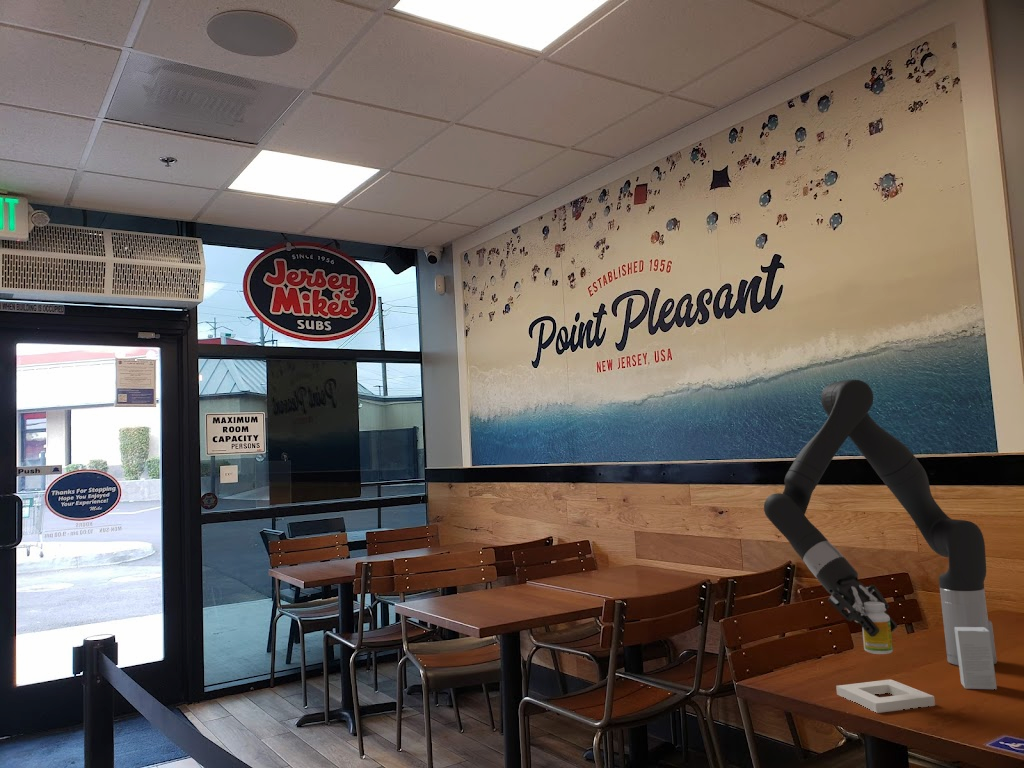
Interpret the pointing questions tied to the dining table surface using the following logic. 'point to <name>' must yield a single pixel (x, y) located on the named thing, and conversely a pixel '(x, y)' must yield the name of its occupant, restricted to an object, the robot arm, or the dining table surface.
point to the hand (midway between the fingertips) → (884, 631)
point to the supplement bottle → (882, 621)
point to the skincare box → (975, 658)
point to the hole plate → (901, 699)
